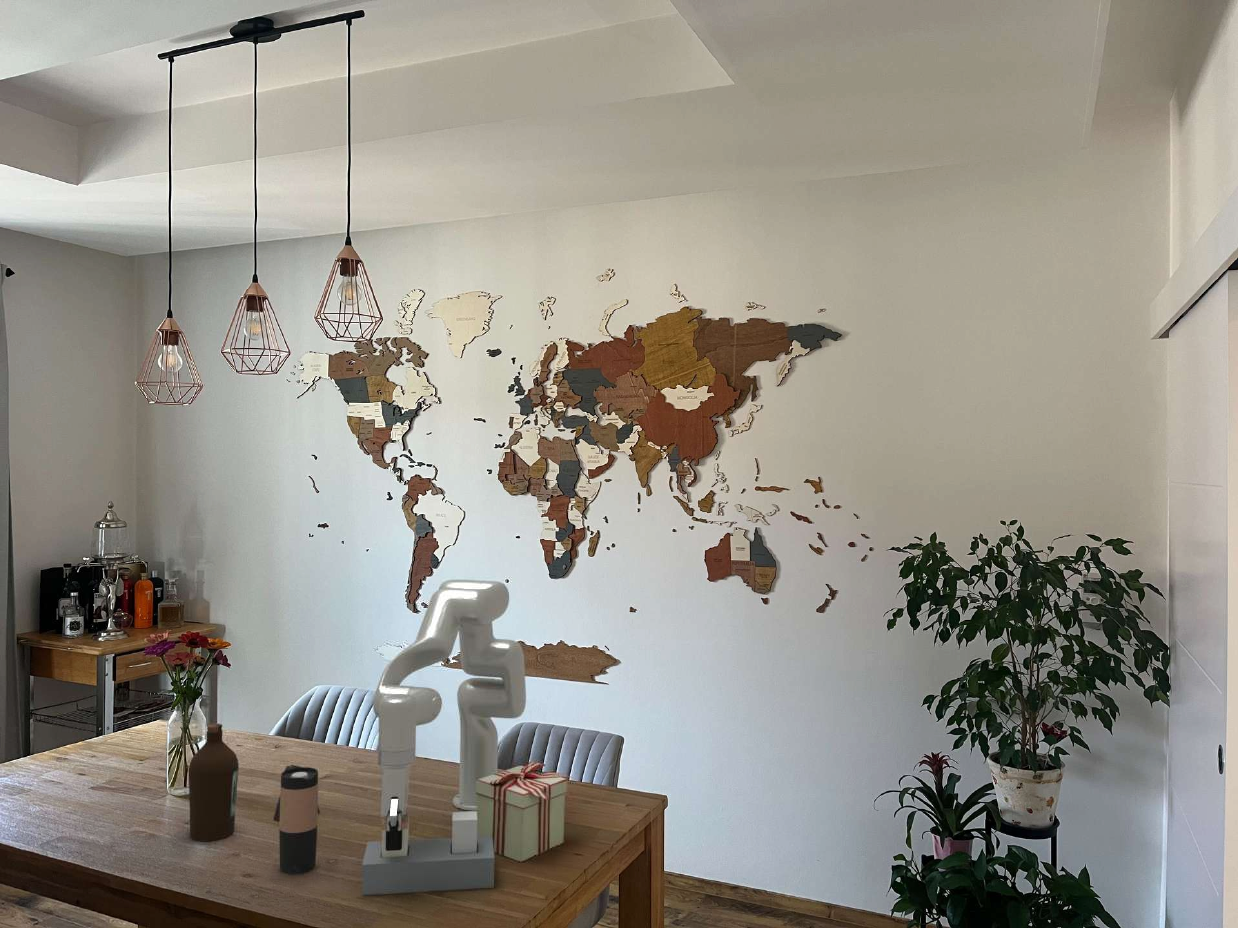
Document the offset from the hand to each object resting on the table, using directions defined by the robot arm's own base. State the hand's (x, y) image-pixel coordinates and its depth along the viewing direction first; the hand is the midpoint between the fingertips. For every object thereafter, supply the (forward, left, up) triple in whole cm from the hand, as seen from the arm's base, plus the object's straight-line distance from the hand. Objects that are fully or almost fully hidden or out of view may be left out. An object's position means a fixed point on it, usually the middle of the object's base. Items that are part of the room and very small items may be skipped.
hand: (395, 841), depth 193 cm
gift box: (-31, +6, -8) cm, 33 cm away
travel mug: (+10, -21, -8) cm, 24 cm away
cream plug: (0, 0, -8) cm, 8 cm away
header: (-5, +4, -8) cm, 11 cm away
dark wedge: (-6, -48, -8) cm, 49 cm away
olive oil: (+13, -52, -8) cm, 54 cm away
